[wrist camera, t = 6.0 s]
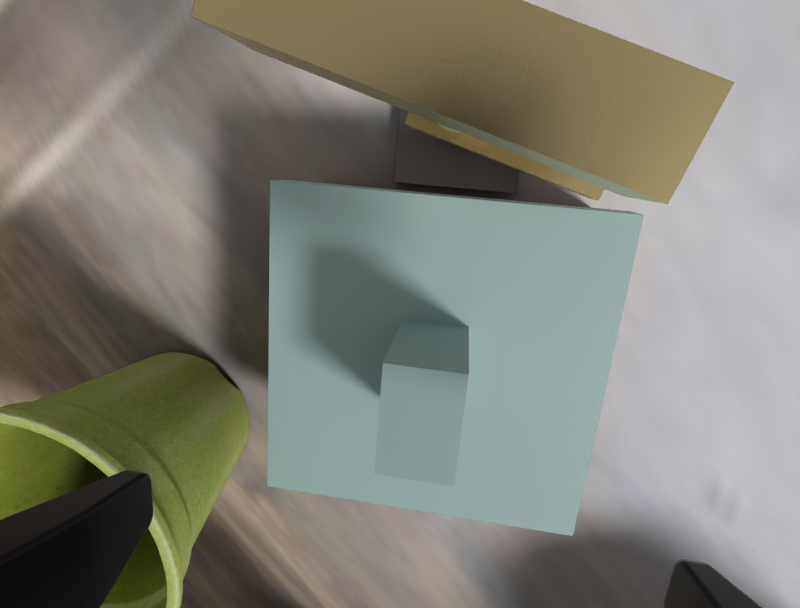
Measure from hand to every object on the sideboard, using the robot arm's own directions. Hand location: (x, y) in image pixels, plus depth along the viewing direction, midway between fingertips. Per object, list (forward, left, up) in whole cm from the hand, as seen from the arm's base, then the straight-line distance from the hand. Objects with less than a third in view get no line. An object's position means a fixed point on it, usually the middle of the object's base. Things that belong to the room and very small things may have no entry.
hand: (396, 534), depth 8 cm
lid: (0, 0, -8) cm, 8 cm away
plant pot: (-6, +11, -12) cm, 17 cm away
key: (+8, 0, -12) cm, 14 cm away
